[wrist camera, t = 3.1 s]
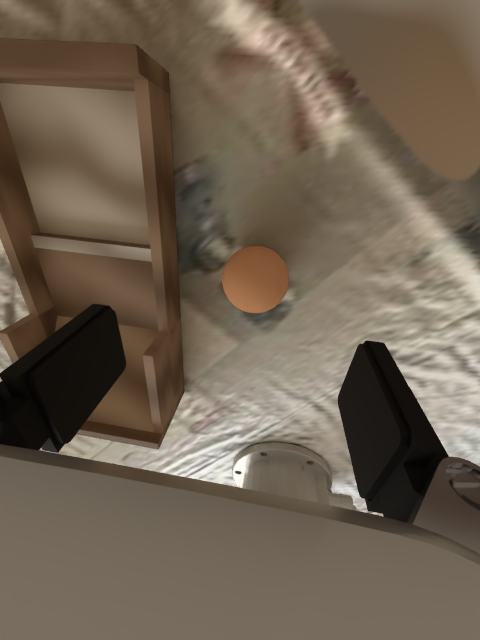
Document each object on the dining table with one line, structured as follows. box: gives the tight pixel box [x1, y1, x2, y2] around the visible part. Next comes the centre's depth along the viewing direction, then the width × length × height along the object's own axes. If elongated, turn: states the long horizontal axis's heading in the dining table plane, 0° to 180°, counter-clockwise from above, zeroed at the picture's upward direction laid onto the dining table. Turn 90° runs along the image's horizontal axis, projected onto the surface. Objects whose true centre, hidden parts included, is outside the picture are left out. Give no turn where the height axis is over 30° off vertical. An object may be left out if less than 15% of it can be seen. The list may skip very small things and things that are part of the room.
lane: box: [0, 38, 184, 449], centre depth 20 cm, size 27×13×7 cm, turn 176°
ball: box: [222, 246, 289, 313], centre depth 19 cm, size 5×5×5 cm
